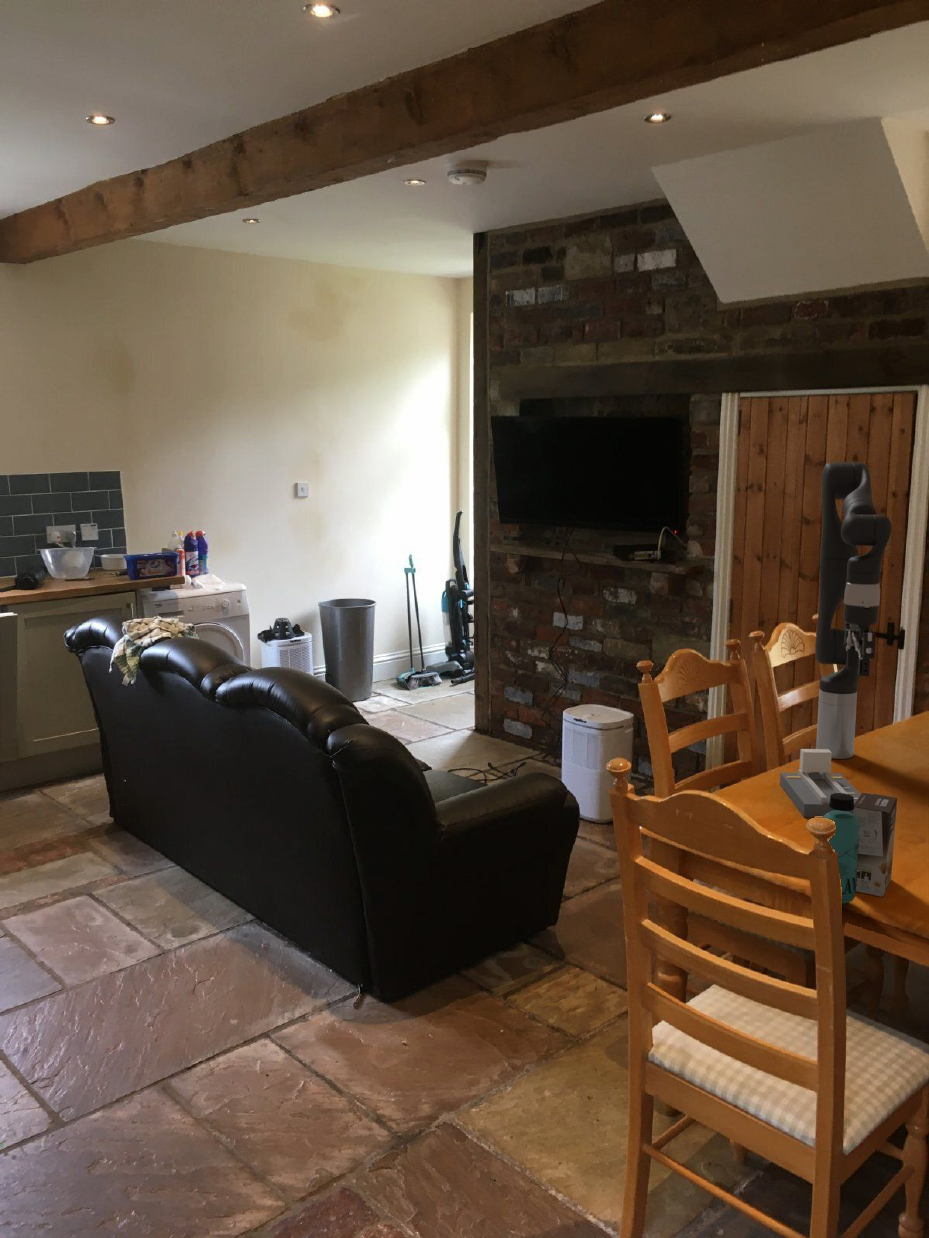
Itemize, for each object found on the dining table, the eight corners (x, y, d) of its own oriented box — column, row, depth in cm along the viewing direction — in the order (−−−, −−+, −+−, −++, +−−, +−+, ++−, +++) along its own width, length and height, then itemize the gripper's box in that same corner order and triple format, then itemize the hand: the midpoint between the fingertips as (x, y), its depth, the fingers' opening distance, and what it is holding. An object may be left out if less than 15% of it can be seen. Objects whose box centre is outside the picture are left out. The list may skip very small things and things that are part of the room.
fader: (798, 775, 235) (800, 748, 234) (826, 775, 234) (828, 748, 233) (802, 779, 232) (803, 752, 231) (830, 779, 231) (832, 752, 230)
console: (779, 784, 238) (780, 767, 237) (839, 785, 237) (840, 768, 236) (803, 817, 217) (804, 798, 216) (869, 818, 216) (870, 799, 215)
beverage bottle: (820, 910, 174) (826, 801, 170) (812, 893, 180) (818, 788, 177) (859, 912, 173) (866, 802, 169) (850, 895, 179) (857, 789, 176)
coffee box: (884, 898, 178) (890, 812, 176) (846, 890, 182) (852, 806, 179) (892, 878, 186) (897, 796, 183) (855, 871, 189) (861, 791, 187)
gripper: (835, 597, 235) (831, 664, 237) (854, 607, 221) (850, 678, 223) (868, 597, 234) (863, 664, 237) (889, 607, 220) (884, 678, 223)
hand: (857, 671), depth 230 cm, fingers open, 8 cm apart
